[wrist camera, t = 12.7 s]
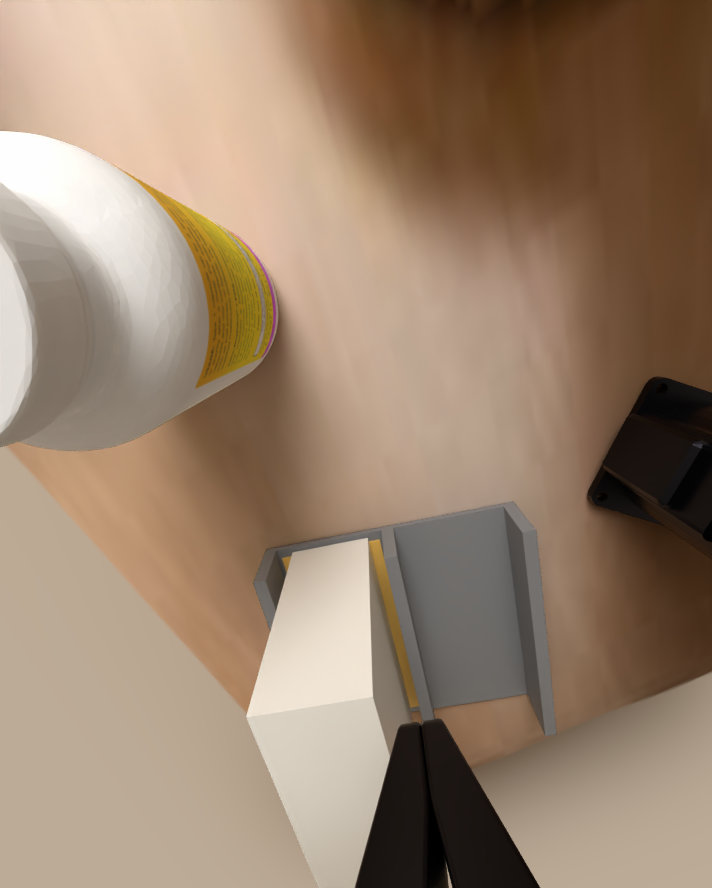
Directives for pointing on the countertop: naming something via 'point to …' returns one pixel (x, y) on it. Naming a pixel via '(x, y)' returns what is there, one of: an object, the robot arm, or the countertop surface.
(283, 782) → the white rectangular box
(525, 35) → the countertop surface
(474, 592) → the slot rack
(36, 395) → the supplement bottle
